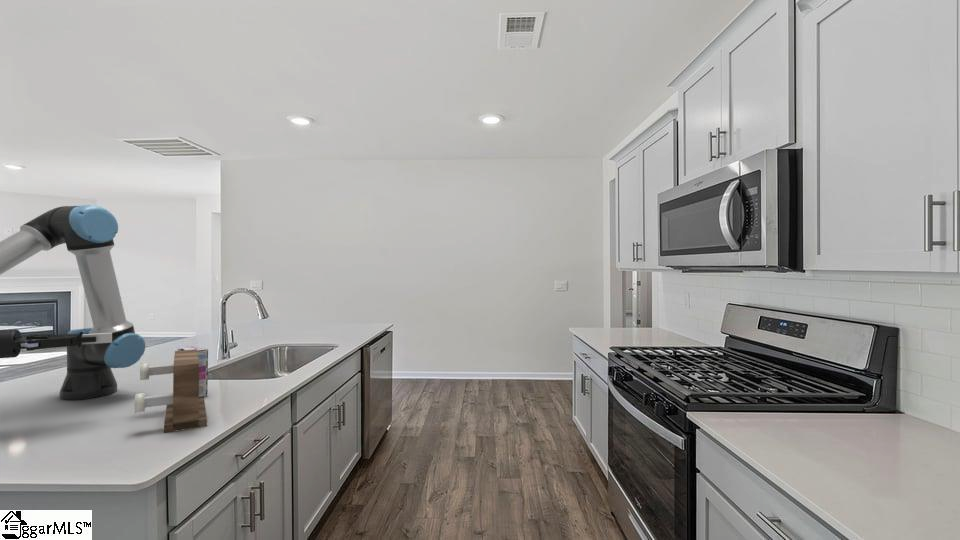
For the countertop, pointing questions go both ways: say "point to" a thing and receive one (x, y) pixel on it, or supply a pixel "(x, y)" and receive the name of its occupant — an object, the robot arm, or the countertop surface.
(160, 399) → the lower plunger
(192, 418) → the slatted wooden stand
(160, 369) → the upper plunger
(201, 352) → the candy bar box
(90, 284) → the robot arm
